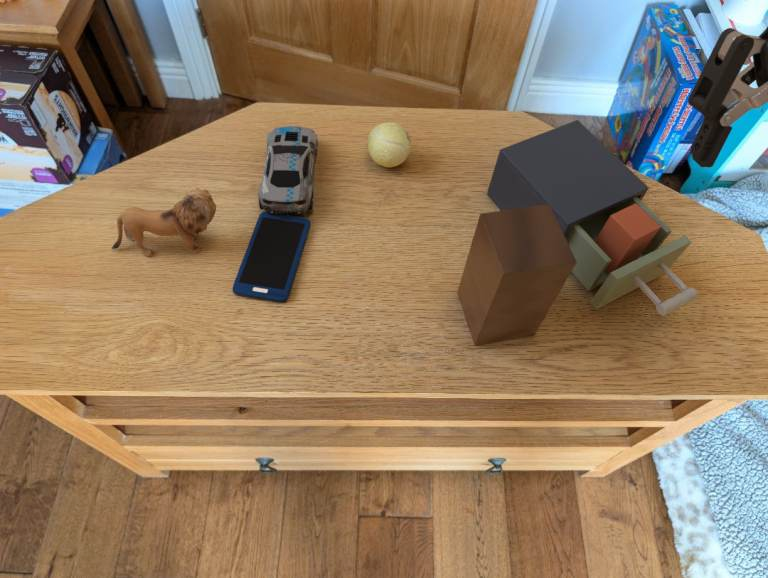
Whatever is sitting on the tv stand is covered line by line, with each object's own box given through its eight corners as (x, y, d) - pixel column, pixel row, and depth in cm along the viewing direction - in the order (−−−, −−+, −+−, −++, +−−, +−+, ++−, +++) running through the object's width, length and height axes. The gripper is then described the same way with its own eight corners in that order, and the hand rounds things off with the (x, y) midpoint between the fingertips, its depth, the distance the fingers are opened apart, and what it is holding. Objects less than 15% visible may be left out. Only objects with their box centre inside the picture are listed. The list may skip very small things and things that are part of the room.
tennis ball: (409, 178, 84) (413, 144, 79) (365, 176, 84) (366, 142, 79) (408, 148, 88) (412, 114, 82) (366, 146, 88) (367, 112, 82)
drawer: (697, 306, 73) (727, 275, 67) (626, 345, 69) (651, 317, 64) (599, 205, 82) (619, 171, 76) (532, 236, 78) (546, 202, 72)
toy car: (318, 139, 88) (317, 113, 84) (313, 221, 79) (311, 197, 74) (271, 138, 88) (267, 112, 84) (259, 220, 78) (254, 195, 74)
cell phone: (231, 294, 72) (230, 291, 71) (261, 213, 79) (261, 209, 79) (287, 304, 71) (286, 301, 71) (312, 221, 79) (311, 218, 78)
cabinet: (622, 230, 81) (649, 187, 73) (547, 265, 77) (568, 224, 69) (558, 164, 87) (577, 119, 80) (486, 194, 83) (499, 149, 76)
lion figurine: (223, 220, 78) (210, 175, 71) (226, 250, 76) (212, 206, 68) (113, 236, 76) (87, 191, 68) (112, 267, 73) (85, 224, 66)
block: (633, 264, 75) (661, 226, 68) (609, 277, 74) (635, 240, 67) (611, 241, 77) (636, 202, 70) (587, 253, 76) (610, 215, 69)
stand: (513, 283, 75) (549, 204, 61) (534, 335, 71) (577, 262, 57) (456, 292, 74) (480, 213, 60) (474, 345, 70) (503, 273, 56)
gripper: (808, -52, 34) (691, 184, 44) (1007, -31, 36) (851, 191, 46) (738, -70, 40) (649, 142, 50) (913, -51, 42) (792, 150, 52)
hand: (746, 165), depth 48 cm, fingers open, 8 cm apart
